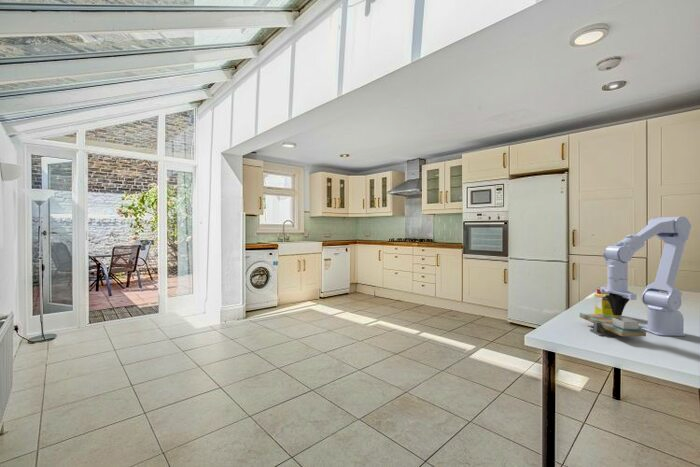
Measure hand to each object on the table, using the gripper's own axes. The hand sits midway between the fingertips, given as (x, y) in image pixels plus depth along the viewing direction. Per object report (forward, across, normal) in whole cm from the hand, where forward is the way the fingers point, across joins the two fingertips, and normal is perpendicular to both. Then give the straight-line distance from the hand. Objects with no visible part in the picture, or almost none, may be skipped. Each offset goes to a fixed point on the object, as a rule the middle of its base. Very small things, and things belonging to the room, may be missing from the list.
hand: (617, 315), depth 117 cm
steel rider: (+4, +4, 0) cm, 6 cm away
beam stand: (+8, -2, 0) cm, 8 cm away
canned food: (+8, -28, +17) cm, 34 cm away
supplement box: (+8, -20, +10) cm, 23 cm away
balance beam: (+5, -4, 0) cm, 6 cm away
